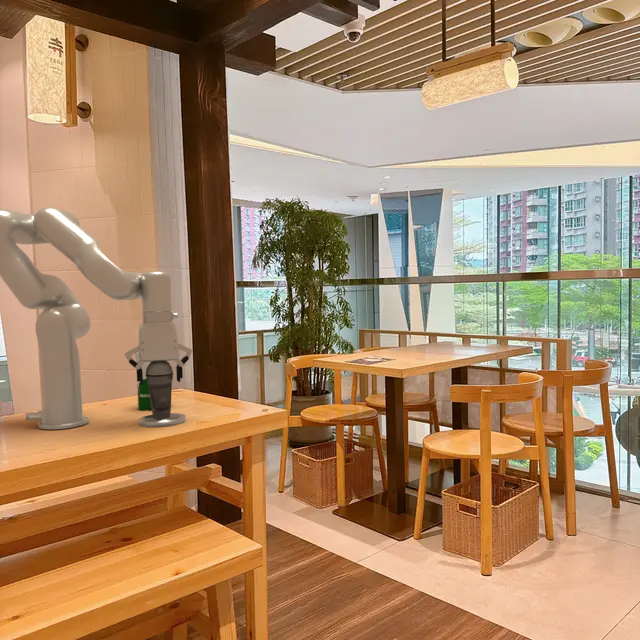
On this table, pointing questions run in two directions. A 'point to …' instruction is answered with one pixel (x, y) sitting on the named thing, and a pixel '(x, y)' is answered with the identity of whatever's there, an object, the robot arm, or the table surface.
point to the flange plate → (162, 420)
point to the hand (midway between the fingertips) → (160, 382)
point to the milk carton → (143, 388)
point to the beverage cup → (160, 388)
